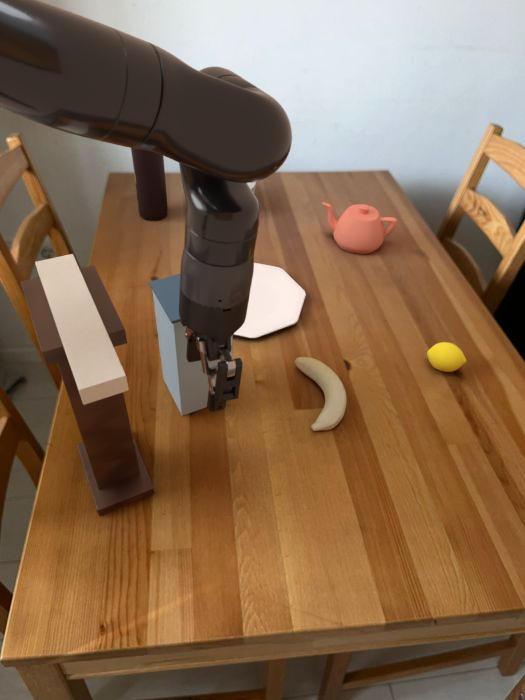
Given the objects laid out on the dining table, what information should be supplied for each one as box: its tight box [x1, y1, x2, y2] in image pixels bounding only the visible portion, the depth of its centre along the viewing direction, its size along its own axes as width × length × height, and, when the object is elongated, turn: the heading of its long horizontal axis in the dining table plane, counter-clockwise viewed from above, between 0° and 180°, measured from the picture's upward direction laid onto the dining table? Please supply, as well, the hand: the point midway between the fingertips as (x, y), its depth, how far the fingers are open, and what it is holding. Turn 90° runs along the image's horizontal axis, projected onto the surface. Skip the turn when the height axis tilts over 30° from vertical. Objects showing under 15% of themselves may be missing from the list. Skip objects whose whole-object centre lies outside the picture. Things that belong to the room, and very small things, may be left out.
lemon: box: [426, 341, 467, 373], centre depth 93 cm, size 7×5×5 cm
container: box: [148, 273, 234, 417], centre depth 81 cm, size 10×10×21 cm
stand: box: [20, 264, 156, 517], centre depth 65 cm, size 8×12×32 cm, turn 27°
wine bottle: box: [130, 148, 169, 221], centre depth 118 cm, size 7×7×30 cm
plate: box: [233, 262, 307, 340], centre depth 105 cm, size 24×24×2 cm
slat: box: [34, 253, 130, 405], centre depth 50 cm, size 4×20×2 cm, turn 27°
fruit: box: [294, 356, 348, 432], centre depth 87 cm, size 7×15×3 cm, turn 9°
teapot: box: [321, 201, 399, 255], centre depth 121 cm, size 12×18×10 cm
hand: (205, 383), depth 65 cm, fingers open, 8 cm apart
